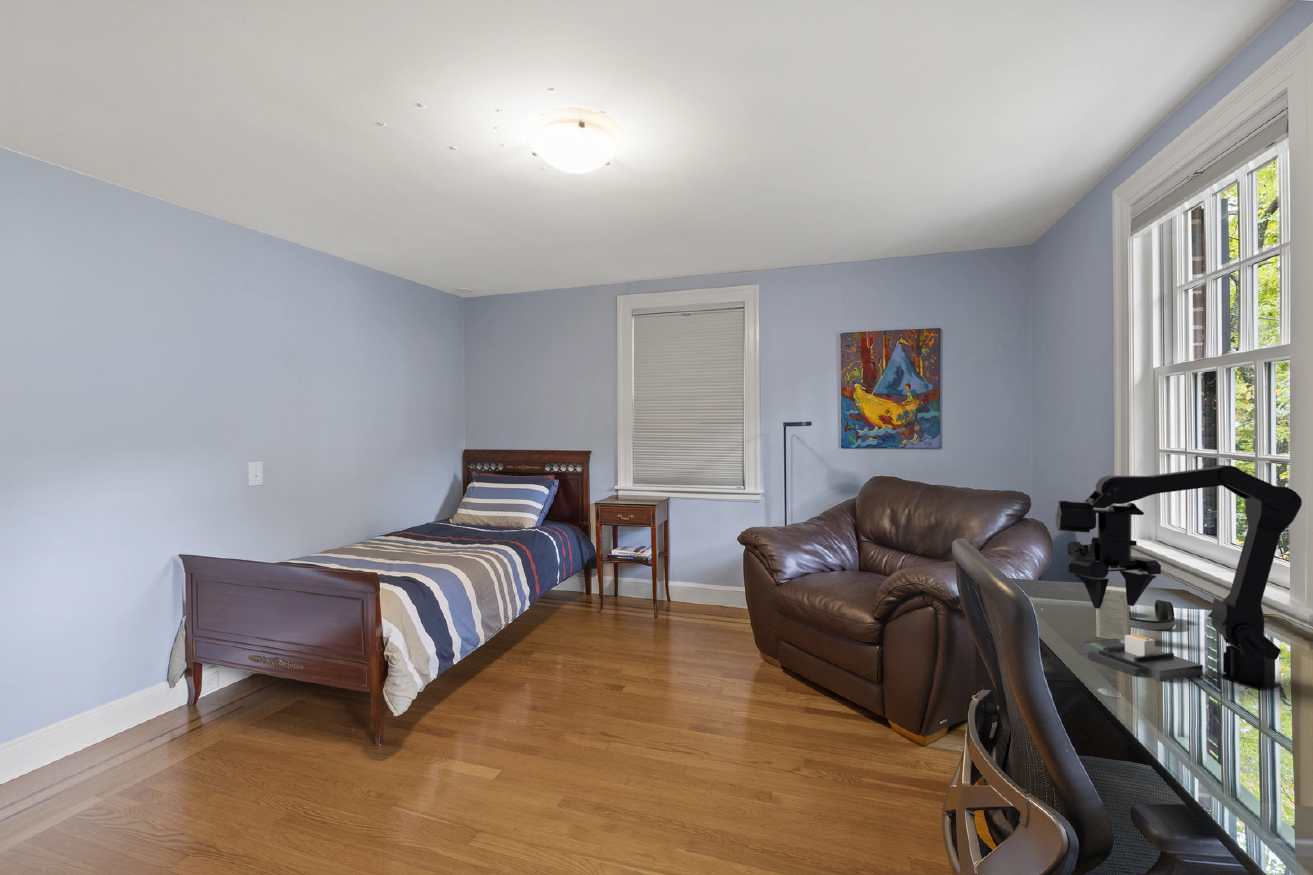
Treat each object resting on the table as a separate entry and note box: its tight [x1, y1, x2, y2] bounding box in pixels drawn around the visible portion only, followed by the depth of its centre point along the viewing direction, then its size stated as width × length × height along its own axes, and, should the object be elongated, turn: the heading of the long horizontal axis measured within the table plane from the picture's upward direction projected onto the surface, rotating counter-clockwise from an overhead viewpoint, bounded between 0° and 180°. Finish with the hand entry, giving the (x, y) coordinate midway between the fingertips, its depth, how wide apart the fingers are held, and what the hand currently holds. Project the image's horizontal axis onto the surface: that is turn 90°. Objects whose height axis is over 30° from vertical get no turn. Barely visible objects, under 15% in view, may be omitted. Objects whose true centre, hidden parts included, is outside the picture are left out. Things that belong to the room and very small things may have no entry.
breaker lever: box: [1125, 633, 1156, 656], centre depth 127 cm, size 4×3×4 cm
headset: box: [1129, 599, 1176, 632], centre depth 157 cm, size 14×10×20 cm
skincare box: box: [1095, 585, 1131, 640], centre depth 143 cm, size 6×4×12 cm
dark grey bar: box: [1086, 651, 1141, 677], centre depth 125 cm, size 10×1×1 cm, turn 15°
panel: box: [1081, 639, 1204, 682], centre depth 127 cm, size 16×12×3 cm
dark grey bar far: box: [1082, 638, 1120, 644], centre depth 136 cm, size 1×10×1 cm, turn 105°
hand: (1113, 606), depth 126 cm, fingers open, 9 cm apart
